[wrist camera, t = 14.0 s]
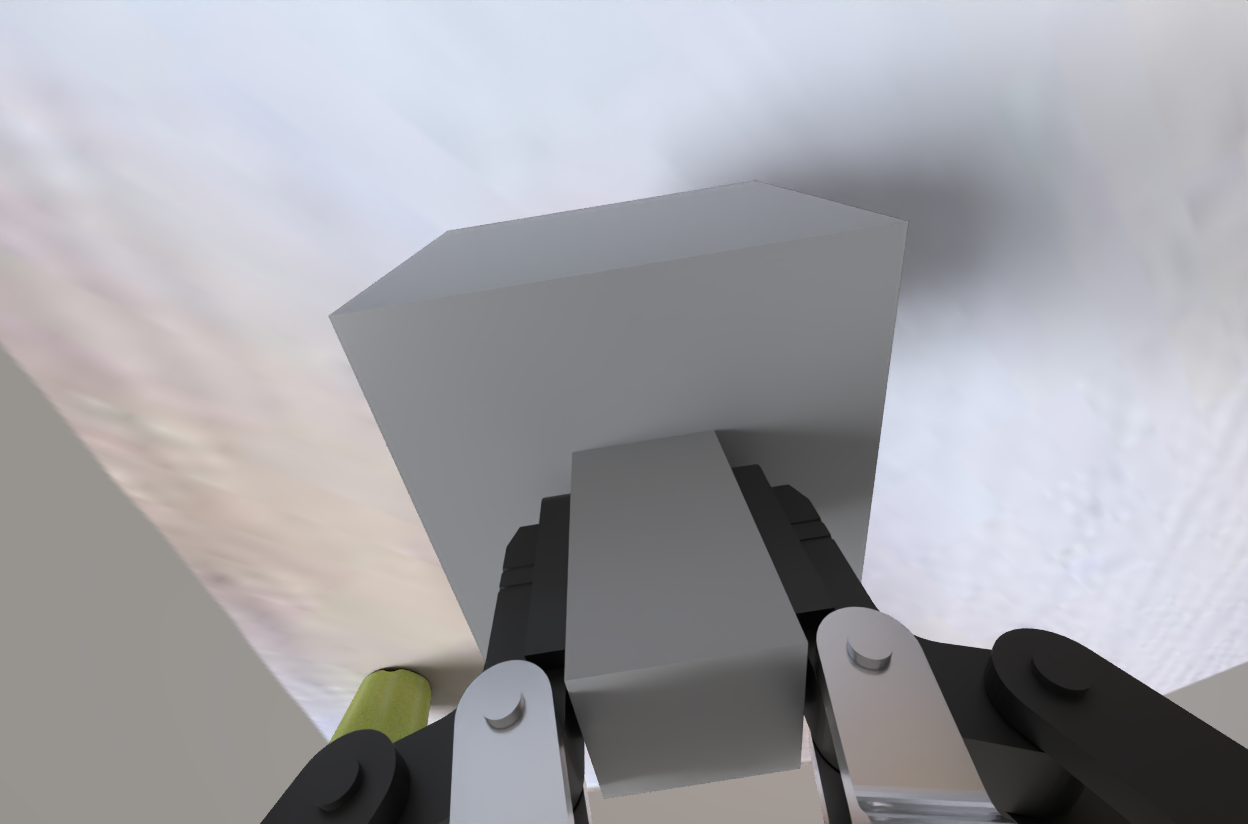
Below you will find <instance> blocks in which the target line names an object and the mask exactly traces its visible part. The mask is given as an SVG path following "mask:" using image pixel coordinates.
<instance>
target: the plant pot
mask: <svg viewBox="0 0 1248 824" xmlns="http://www.w3.org/2000/svg"><path fill="white" fill-rule="evenodd" d="M430 701H431V689H430V686H429V682H428V681H427V680H426V679H425V678H424V677H422V676H420V675H418V674H416V673H414V672H411V671H408V670H403V669H399V670H397V671H393V672H387V671H384V670H380V671H376V672H374V673H372V674H370V675H369V676H367V677H366V678H365V679H364V680H363V682H362V684H361V686H360V687H359V689H358V691H357V693H356V695H355V697H354V698H353V700H352V702H351V704H350V706H349V708H348V709H347V711H346V713H345V715H344V717H343V719H342V720H341V722H340V724H339V726H338V728H337V730H336V731H335V733H334V735H333V737H332V739H331V740H330V742H329V744H330V743H331V742H333V741H334V740H336V739H337V738H339V737H341V736H343V735H345V734H348V733H351V732H353V731H357V730H363V729H373V730H377V731H380V732H382V733H384V734H385V735H386V736H387V737H388V738H390V740H391V741H392V743H394V742H396V741H398V740H400V739H402V738H404V737H406V736H408V735H410V734H412V733H414V732H416V731H418V730H420V729H422V728H424V727H426V726H427V724H428V716H429V709H430Z"/></svg>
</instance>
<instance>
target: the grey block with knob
mask: <svg viewBox="0 0 1248 824" xmlns="http://www.w3.org/2000/svg"><path fill="white" fill-rule="evenodd" d="M908 222H909V221H905V220H901V219H898V218H894V217H890V216H886V215H883V214H879V213H875V212H871V211H868V210H864V209H860V208H856V207H853V206H849V205H845V204H842V203H838V202H834V201H830V200H827V199H823V198H819V197H815V196H812V195H808V194H804V193H800V192H797V191H793V190H789V189H785V188H782V187H778V186H774V185H770V184H767V183H763V182H759V181H749V182H743V183H737V184H730V185H724V186H718V187H712V188H706V189H700V190H694V191H688V192H682V193H675V194H669V195H663V196H657V197H651V198H645V199H639V200H633V201H627V202H621V203H614V204H608V205H602V206H596V207H590V208H584V209H578V210H572V211H566V212H560V213H553V214H547V215H541V216H535V217H529V218H523V219H517V220H511V221H505V222H499V223H492V224H486V225H480V226H474V227H468V228H462V229H456V230H450V231H447V232H445V233H444V234H443V235H441V236H440V237H438V238H437V239H436V240H434V241H433V242H431V243H430V244H429V245H427V246H426V247H424V248H423V249H422V250H420V251H419V252H417V253H416V254H415V255H413V256H412V257H410V258H409V259H408V260H406V261H405V262H403V263H402V264H401V265H399V266H398V267H396V268H395V269H394V270H392V271H391V272H389V273H388V274H387V275H385V276H384V277H382V278H381V279H380V280H378V281H377V282H375V283H374V284H372V285H371V286H370V287H368V288H367V289H365V290H364V291H363V292H361V293H360V294H358V295H357V296H356V297H354V298H353V299H351V300H350V301H349V302H347V303H346V304H344V305H343V306H342V307H340V308H339V309H337V310H336V311H335V312H333V313H332V314H330V315H329V318H330V321H331V323H332V325H333V327H334V329H335V332H336V334H337V336H338V338H339V340H340V343H341V345H342V347H343V349H344V351H345V354H346V356H347V358H348V360H349V363H350V365H351V367H352V369H353V371H354V374H355V376H356V378H357V380H358V382H359V385H360V387H361V389H362V391H363V393H364V396H365V398H366V400H367V402H368V404H369V407H370V409H371V411H372V413H373V415H374V418H375V420H376V422H377V424H378V427H379V429H380V431H381V433H382V435H383V438H384V440H385V442H386V444H387V446H388V449H389V451H390V453H391V455H392V457H393V460H394V462H395V464H396V466H397V468H398V471H399V473H400V475H401V477H402V479H403V482H404V484H405V486H406V488H407V491H408V493H409V495H410V497H411V499H412V502H413V504H414V506H415V508H416V510H417V513H418V515H419V517H420V519H421V521H422V524H423V526H424V528H425V530H426V532H427V535H428V537H429V539H430V541H431V543H432V546H433V548H434V550H435V552H436V555H437V557H438V559H439V561H440V563H441V566H442V568H443V570H444V572H445V574H446V577H447V579H448V581H449V583H450V585H451V588H452V590H453V592H454V594H455V596H456V599H457V601H458V603H459V605H460V607H461V610H462V612H463V614H464V616H465V619H466V621H467V623H468V625H469V627H470V630H471V632H472V634H473V636H474V638H475V641H476V643H477V645H478V647H479V649H480V652H481V654H482V656H483V658H484V660H485V662H486V656H487V651H488V645H489V640H490V634H491V629H492V623H493V618H494V612H495V607H496V601H497V596H498V592H499V591H500V589H499V585H500V580H501V574H502V573H503V563H504V558H505V552H506V547H507V545H508V544H509V542H510V541H511V539H512V538H513V536H514V535H515V533H516V532H517V530H518V529H519V528H520V527H522V526H528V525H534V524H539V518H540V509H541V501H542V498H545V497H551V496H557V495H563V494H570V493H571V498H570V528H569V557H568V587H567V616H566V646H565V675H564V681H565V684H566V687H567V690H568V693H569V696H570V699H571V702H572V705H573V708H574V711H575V714H576V717H577V720H578V723H579V726H580V729H581V732H582V735H583V738H584V741H585V744H586V747H587V750H588V753H589V756H590V759H591V762H592V765H593V768H594V771H595V774H596V777H597V779H598V782H599V785H600V788H601V791H602V794H603V797H604V799H607V798H614V797H620V796H626V795H633V794H639V793H646V792H652V791H659V790H665V789H672V788H678V787H684V786H690V785H697V784H703V783H710V782H717V781H723V780H728V779H736V778H742V777H748V776H755V775H761V774H767V773H774V772H781V771H787V770H793V769H800V766H801V749H802V733H803V717H804V701H805V685H806V668H807V652H808V641H807V639H806V637H805V634H804V632H803V630H802V628H801V625H800V623H799V621H798V619H797V616H796V614H795V612H794V610H793V607H792V605H791V603H790V601H789V598H788V596H787V594H786V592H785V589H784V587H783V585H782V583H781V580H780V578H779V576H778V574H777V571H776V569H775V567H774V565H773V562H772V560H771V558H770V555H769V553H768V551H767V549H766V546H765V544H764V542H763V540H762V537H761V535H760V533H759V531H758V528H757V526H756V524H755V522H754V519H753V517H752V515H751V513H750V510H749V508H748V506H747V504H746V501H745V499H744V497H743V495H742V492H741V490H740V488H739V486H738V483H737V481H736V479H735V477H734V474H733V472H732V470H731V468H734V467H740V466H747V465H753V464H758V465H759V466H760V467H761V469H762V471H763V473H764V475H765V476H766V478H767V480H768V482H769V484H770V486H771V487H775V486H781V485H787V484H789V485H790V486H792V487H793V488H795V489H796V490H797V491H799V492H800V493H801V494H803V495H804V496H805V497H807V498H808V499H809V500H810V501H811V503H812V505H813V506H814V508H815V509H816V511H817V513H818V514H819V516H820V518H821V521H822V523H824V524H825V526H826V527H827V529H828V531H829V532H830V534H831V537H832V539H834V540H835V542H836V544H837V545H838V547H839V548H840V550H841V552H842V553H843V555H844V556H845V558H846V560H847V561H848V563H849V565H850V566H851V568H852V569H853V571H854V573H855V574H856V576H857V578H858V579H859V581H860V582H861V579H862V571H863V564H864V556H865V549H866V541H867V533H868V526H869V518H870V511H871V503H872V495H873V488H874V480H875V473H876V465H877V457H878V450H879V442H880V435H881V427H882V419H883V412H884V404H885V397H886V389H887V381H888V374H889V366H890V359H891V351H892V343H893V336H894V328H895V321H896V313H897V305H898V298H899V290H900V283H901V275H902V267H903V260H904V252H905V245H906V237H907V229H908Z"/></svg>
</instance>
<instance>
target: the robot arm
mask: <svg viewBox="0 0 1248 824" xmlns="http://www.w3.org/2000/svg"><path fill="white" fill-rule="evenodd" d="M731 470H732V472H733V474H734V477H735V479H736V481H737V483H738V486H739V488H740V490H741V492H742V495H743V497H744V499H745V501H746V504H747V506H748V508H749V510H750V513H751V515H752V517H753V519H754V522H755V524H756V526H757V528H758V531H759V533H760V535H761V537H762V540H763V542H764V544H765V546H766V549H767V551H768V553H769V555H770V558H771V560H772V562H773V565H774V567H775V569H776V571H777V574H778V576H779V578H780V580H781V583H782V585H783V587H784V589H785V592H786V594H787V596H788V598H789V601H790V603H791V605H792V607H793V610H794V612H795V614H796V616H797V619H798V621H799V623H800V625H801V628H802V630H803V632H804V634H805V637H806V639H807V641H808V652H807V668H806V685H805V701H804V716H805V718H806V721H807V724H808V726H809V749H810V754H811V759H812V764H813V769H814V774H815V779H816V784H817V789H818V794H819V799H820V804H821V809H822V814H823V819H824V824H1248V749H1246V748H1245V747H1243V746H1241V745H1240V744H1238V743H1237V742H1235V741H1234V740H1232V739H1231V738H1229V737H1227V736H1226V735H1224V734H1223V733H1221V732H1220V731H1218V730H1216V729H1215V728H1213V727H1212V726H1210V725H1208V724H1207V723H1205V722H1204V721H1202V720H1200V719H1199V718H1197V717H1196V716H1194V715H1193V714H1191V713H1189V712H1188V711H1186V710H1185V709H1183V708H1182V707H1180V706H1178V705H1177V704H1175V703H1174V702H1172V701H1170V700H1169V699H1167V698H1166V697H1164V696H1163V695H1161V694H1159V693H1158V692H1156V691H1155V690H1153V689H1151V688H1150V687H1148V686H1147V685H1145V684H1144V683H1142V682H1140V681H1139V680H1137V679H1136V678H1134V677H1132V676H1131V675H1129V674H1128V673H1126V672H1125V671H1123V670H1121V669H1120V668H1118V667H1117V666H1115V665H1113V664H1112V663H1110V662H1109V661H1107V660H1106V659H1104V658H1102V657H1101V656H1099V655H1098V654H1096V653H1094V652H1093V651H1091V650H1090V649H1088V648H1086V647H1085V646H1083V645H1081V644H1079V643H1078V642H1076V641H1073V640H1071V639H1069V638H1067V637H1065V636H1062V635H1059V634H1056V633H1053V632H1049V631H1045V630H1039V629H1028V628H1022V629H1015V630H1011V631H1008V632H1006V633H1004V634H1003V635H1001V636H1000V637H999V638H998V639H997V640H996V642H995V644H994V646H993V648H992V650H989V649H982V648H975V647H967V646H960V645H953V644H946V643H939V642H934V641H930V640H926V639H923V638H920V637H917V636H915V635H913V634H912V633H911V632H910V631H909V630H908V629H907V628H906V627H905V626H904V625H903V624H901V623H900V622H899V621H897V620H896V619H894V618H892V617H891V616H889V615H887V614H884V613H882V612H880V611H879V610H878V609H877V607H876V606H875V605H874V603H873V602H872V600H871V599H870V597H869V595H868V594H867V592H866V591H865V589H864V587H863V586H862V584H861V582H860V581H859V579H858V578H857V576H856V574H855V573H854V571H853V569H852V568H851V566H850V565H849V563H848V561H847V560H846V558H845V556H844V555H843V553H842V552H841V550H840V548H839V547H838V545H837V544H836V542H835V540H834V539H832V537H831V534H830V532H829V531H828V529H827V527H826V526H825V524H824V523H822V521H821V518H820V516H819V514H818V513H817V511H816V509H815V508H814V506H813V505H812V503H811V501H810V500H809V499H808V498H807V497H805V496H804V495H803V494H801V493H800V492H799V491H797V490H796V489H795V488H793V487H792V486H790V485H789V484H787V485H781V486H775V487H771V486H770V484H769V482H768V480H767V478H766V476H765V475H764V473H763V471H762V469H761V467H760V466H759V465H758V464H753V465H747V466H740V467H734V468H731ZM570 498H571V493H570V494H563V495H557V496H551V497H545V498H542V501H541V509H540V518H539V524H534V525H528V526H522V527H520V528H519V529H518V530H517V532H516V533H515V535H514V536H513V538H512V539H511V541H510V542H509V544H508V545H507V547H506V552H505V558H504V563H503V573H502V574H501V580H500V585H499V589H500V591H499V592H498V596H497V601H496V607H495V612H494V618H493V623H492V629H491V634H490V640H489V645H488V651H487V656H486V662H485V666H484V670H483V672H482V674H480V675H479V676H478V677H477V678H476V679H475V680H474V681H473V682H472V683H471V684H470V685H469V687H468V688H467V689H466V691H465V692H464V694H463V696H462V697H461V700H460V702H459V704H458V707H457V708H456V709H455V710H454V711H452V712H451V713H450V714H448V715H447V716H445V717H443V718H442V719H440V720H438V721H436V722H434V723H432V724H430V725H428V726H426V727H424V728H422V729H420V730H418V731H416V732H414V733H412V734H410V735H408V736H406V737H404V738H402V739H400V740H398V741H396V742H394V743H392V741H391V740H390V738H388V737H387V736H386V735H385V734H384V733H382V732H380V731H377V730H373V729H363V730H357V731H353V732H351V733H348V734H345V735H343V736H341V737H339V738H337V739H336V740H334V741H333V742H331V743H330V744H328V745H327V746H326V747H325V748H323V749H322V750H321V751H319V752H318V753H317V754H316V755H315V756H314V757H313V758H312V759H311V760H310V761H309V763H308V764H307V765H306V766H305V767H304V768H303V769H302V771H301V772H300V773H299V775H298V776H297V777H296V778H295V780H294V781H293V782H292V784H291V785H290V786H289V787H288V789H287V790H286V791H285V793H284V794H283V795H282V797H281V798H280V799H279V800H278V802H277V803H276V804H275V805H274V807H273V808H272V809H271V810H270V812H269V813H268V814H267V816H266V817H265V818H264V819H263V821H262V822H261V823H260V824H592V818H591V812H590V805H589V799H588V793H587V787H586V782H585V778H584V738H583V735H582V732H581V729H580V726H579V723H578V720H577V717H576V714H575V711H574V708H573V705H572V702H571V699H570V696H569V693H568V690H567V687H566V684H565V681H564V675H565V646H566V616H567V587H568V557H569V528H570Z"/></svg>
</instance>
